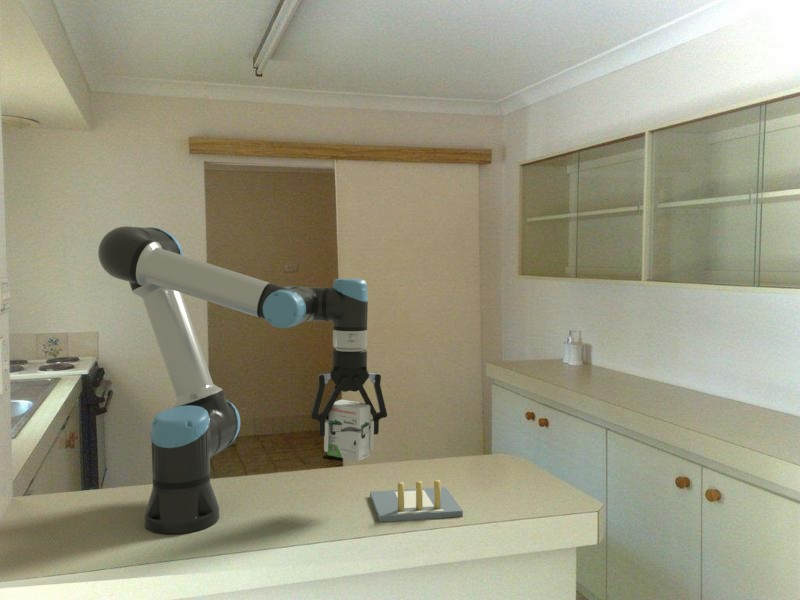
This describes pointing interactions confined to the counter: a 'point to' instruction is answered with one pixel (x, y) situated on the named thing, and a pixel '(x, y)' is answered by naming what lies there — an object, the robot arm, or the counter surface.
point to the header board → (415, 503)
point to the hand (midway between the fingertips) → (348, 449)
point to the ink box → (349, 430)
